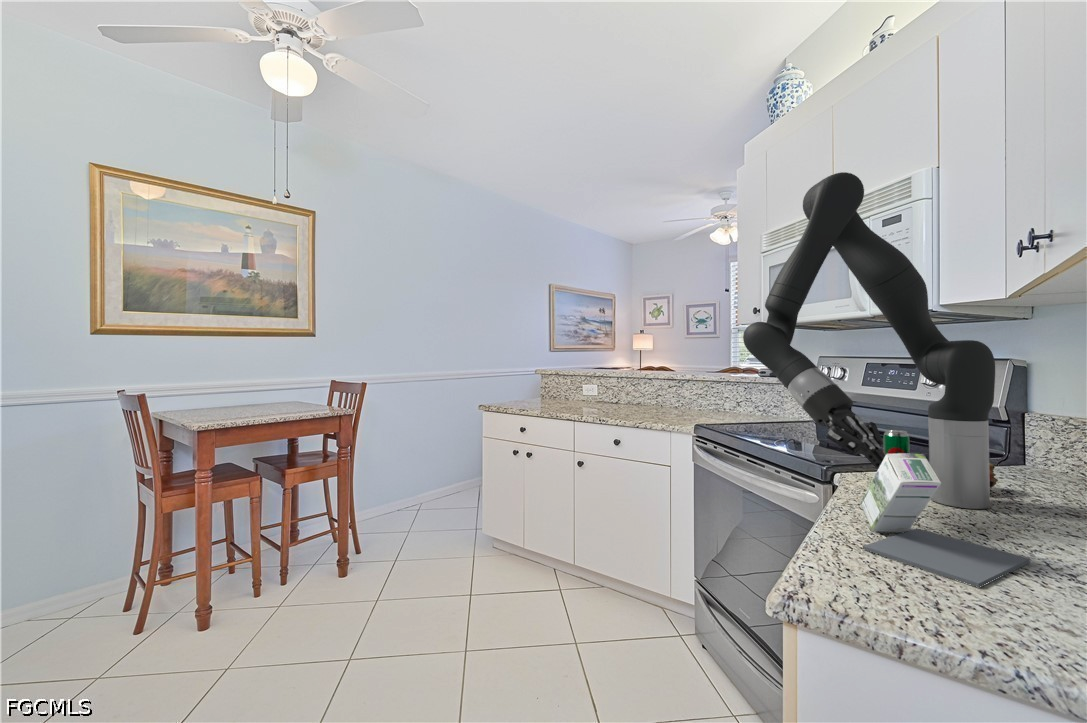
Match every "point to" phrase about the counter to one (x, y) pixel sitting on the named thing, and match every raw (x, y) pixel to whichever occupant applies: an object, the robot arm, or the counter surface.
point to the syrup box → (899, 492)
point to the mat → (948, 556)
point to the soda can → (896, 442)
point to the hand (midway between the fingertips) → (889, 470)
